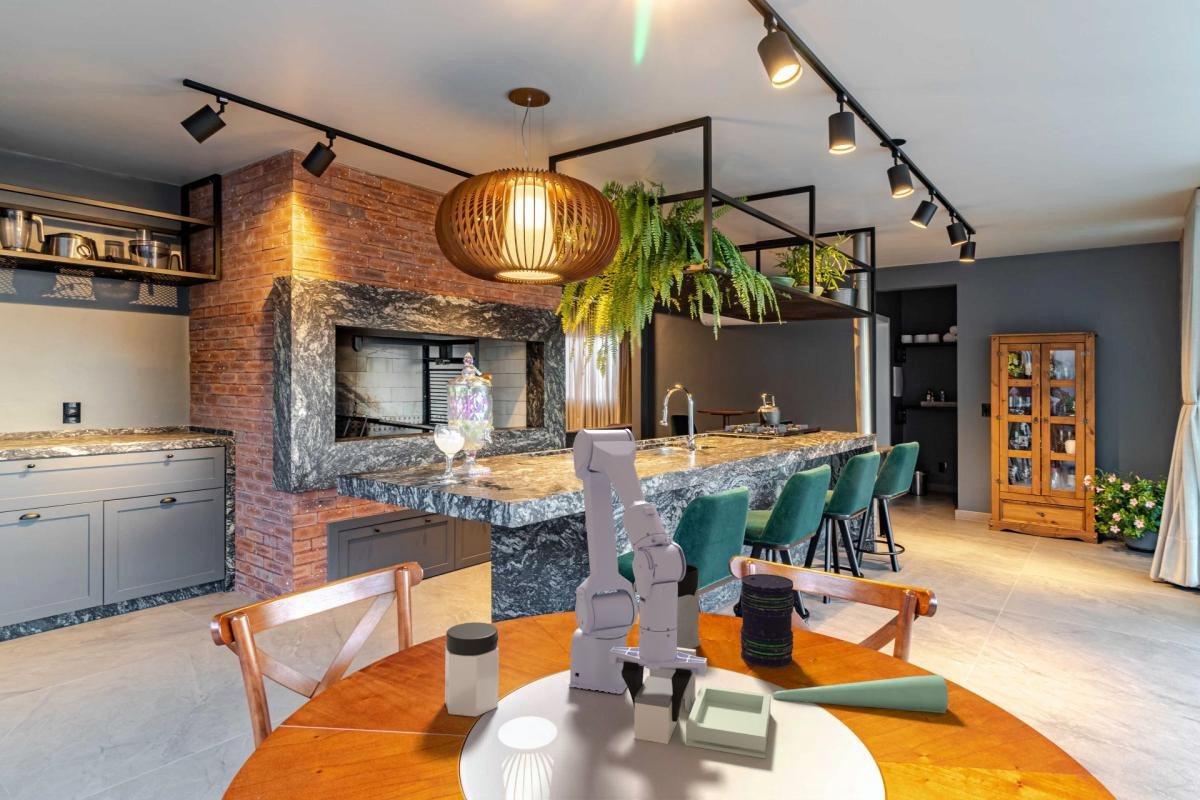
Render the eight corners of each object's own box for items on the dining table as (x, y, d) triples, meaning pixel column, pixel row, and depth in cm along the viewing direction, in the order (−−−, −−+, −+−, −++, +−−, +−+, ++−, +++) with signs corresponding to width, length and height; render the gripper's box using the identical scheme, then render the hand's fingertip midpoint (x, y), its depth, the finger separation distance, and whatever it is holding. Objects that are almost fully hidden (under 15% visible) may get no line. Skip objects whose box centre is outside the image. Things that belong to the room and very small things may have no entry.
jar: (502, 713, 105) (503, 636, 105) (449, 721, 102) (450, 642, 102) (491, 689, 113) (492, 619, 113) (442, 696, 110) (443, 624, 110)
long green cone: (771, 660, 114) (936, 669, 111) (770, 692, 114) (935, 702, 111) (775, 673, 109) (949, 683, 106) (775, 707, 109) (948, 718, 106)
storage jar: (799, 655, 130) (800, 578, 130) (785, 672, 122) (786, 590, 122) (749, 645, 136) (750, 571, 136) (732, 661, 127) (733, 582, 127)
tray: (685, 745, 96) (686, 724, 96) (700, 703, 109) (701, 685, 109) (764, 758, 92) (765, 736, 92) (770, 713, 106) (770, 694, 106)
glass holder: (707, 647, 134) (707, 572, 134) (638, 652, 131) (639, 575, 131) (691, 632, 142) (692, 562, 142) (627, 636, 139) (628, 564, 139)
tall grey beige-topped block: (634, 738, 97) (634, 697, 97) (647, 714, 105) (647, 675, 105) (668, 744, 96) (668, 702, 96) (678, 718, 104) (678, 680, 104)
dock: (643, 704, 108) (643, 655, 108) (650, 691, 113) (651, 644, 113) (689, 711, 106) (690, 661, 106) (695, 697, 111) (695, 649, 111)
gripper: (604, 628, 99) (603, 720, 99) (702, 640, 94) (701, 736, 94) (617, 614, 106) (616, 700, 106) (709, 624, 101) (708, 714, 101)
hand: (657, 715), depth 100 cm, fingers closed on tall grey beige-topped block, 5 cm apart
